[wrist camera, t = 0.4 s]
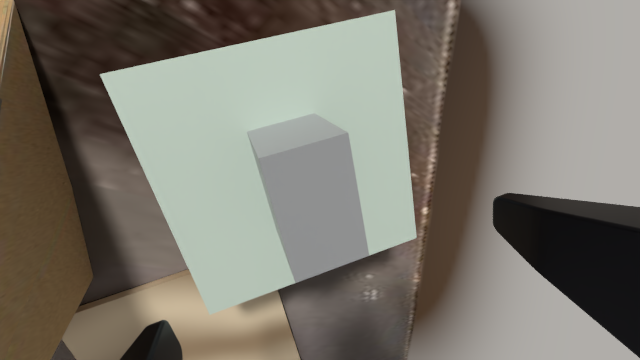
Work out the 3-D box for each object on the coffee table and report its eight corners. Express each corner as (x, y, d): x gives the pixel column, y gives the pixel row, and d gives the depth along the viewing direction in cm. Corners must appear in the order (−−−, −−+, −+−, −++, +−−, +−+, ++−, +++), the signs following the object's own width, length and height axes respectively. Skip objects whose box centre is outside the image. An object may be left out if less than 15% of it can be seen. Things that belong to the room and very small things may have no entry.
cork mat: (304, 370, 28) (305, 376, 27) (142, 439, 25) (141, 447, 25) (262, 243, 22) (263, 248, 22) (53, 315, 20) (49, 322, 19)
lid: (398, 221, 20) (465, 281, 15) (210, 288, 18) (208, 388, 13) (374, 15, 16) (458, -6, 10) (115, 71, 13) (48, 82, 8)
